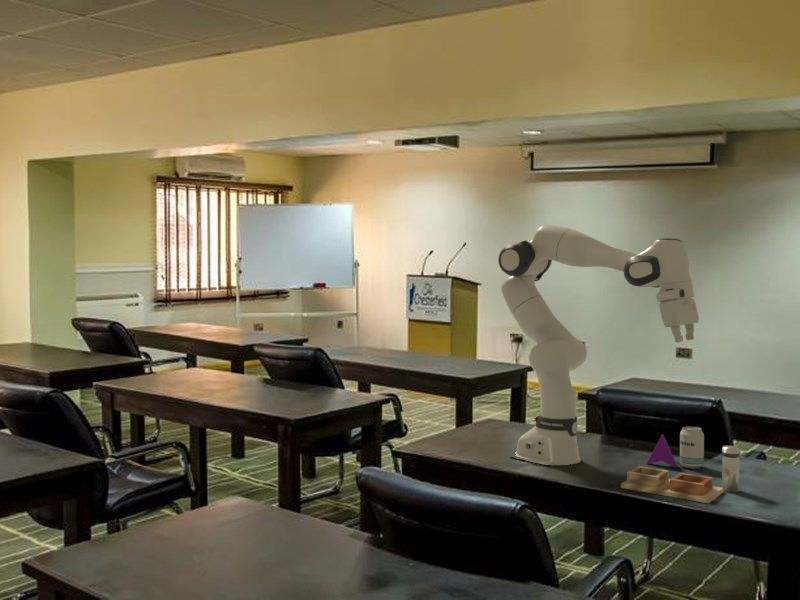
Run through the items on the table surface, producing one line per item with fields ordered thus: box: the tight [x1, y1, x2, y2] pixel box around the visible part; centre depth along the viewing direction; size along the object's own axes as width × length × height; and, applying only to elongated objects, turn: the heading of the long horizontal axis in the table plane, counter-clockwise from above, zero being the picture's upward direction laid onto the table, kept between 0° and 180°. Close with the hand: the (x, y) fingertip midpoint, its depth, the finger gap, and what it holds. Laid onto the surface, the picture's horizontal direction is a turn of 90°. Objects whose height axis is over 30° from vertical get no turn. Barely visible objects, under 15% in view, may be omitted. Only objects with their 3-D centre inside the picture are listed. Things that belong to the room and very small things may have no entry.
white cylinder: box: [721, 445, 741, 494], centre depth 219 cm, size 5×5×12 cm
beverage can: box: [679, 426, 705, 470], centre depth 244 cm, size 7×7×12 cm
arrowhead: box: [646, 434, 678, 469], centre depth 246 cm, size 10×2×10 cm
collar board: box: [620, 465, 724, 504], centre depth 220 cm, size 24×13×4 cm, turn 52°
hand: (685, 341), depth 226 cm, fingers open, 8 cm apart
